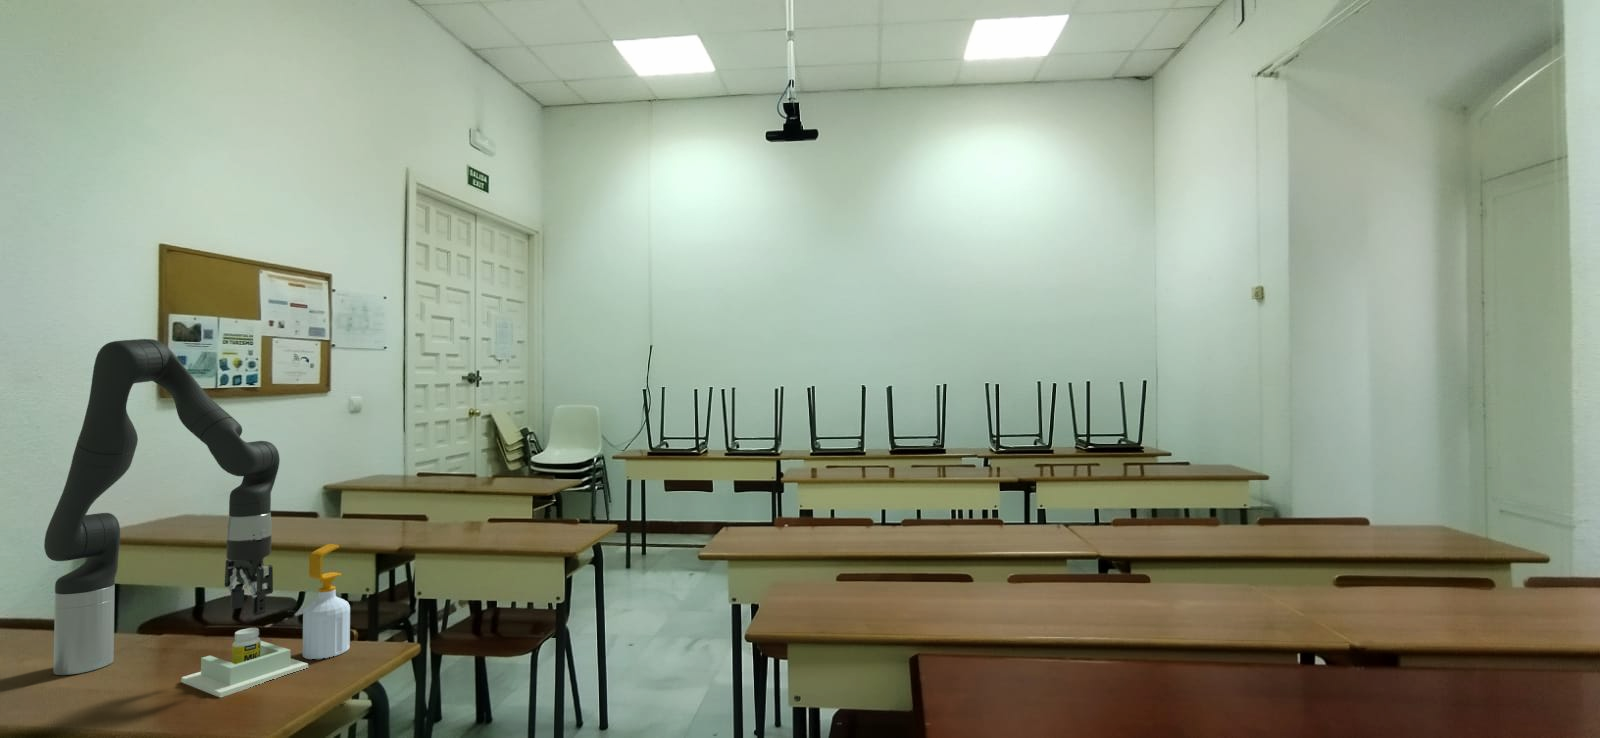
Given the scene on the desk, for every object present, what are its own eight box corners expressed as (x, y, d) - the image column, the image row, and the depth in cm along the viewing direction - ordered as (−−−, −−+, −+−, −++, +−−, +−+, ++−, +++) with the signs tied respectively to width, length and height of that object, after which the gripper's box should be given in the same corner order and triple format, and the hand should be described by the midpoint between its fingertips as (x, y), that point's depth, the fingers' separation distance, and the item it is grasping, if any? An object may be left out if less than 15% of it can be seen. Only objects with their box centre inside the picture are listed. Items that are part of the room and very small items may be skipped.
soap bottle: (358, 648, 163) (359, 543, 164) (317, 663, 155) (319, 551, 156) (334, 643, 167) (335, 540, 168) (293, 656, 159) (294, 548, 159)
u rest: (181, 682, 145) (181, 660, 145) (268, 655, 159) (269, 635, 160) (220, 697, 138) (220, 674, 138) (308, 668, 152) (308, 647, 152)
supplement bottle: (244, 676, 146) (245, 635, 146) (225, 674, 147) (226, 634, 147) (265, 666, 150) (266, 627, 151) (247, 665, 151) (248, 626, 152)
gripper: (211, 534, 149) (209, 611, 149) (246, 542, 143) (245, 622, 143) (252, 528, 156) (250, 601, 156) (287, 535, 150) (285, 611, 149)
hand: (247, 611), depth 149 cm, fingers open, 8 cm apart
